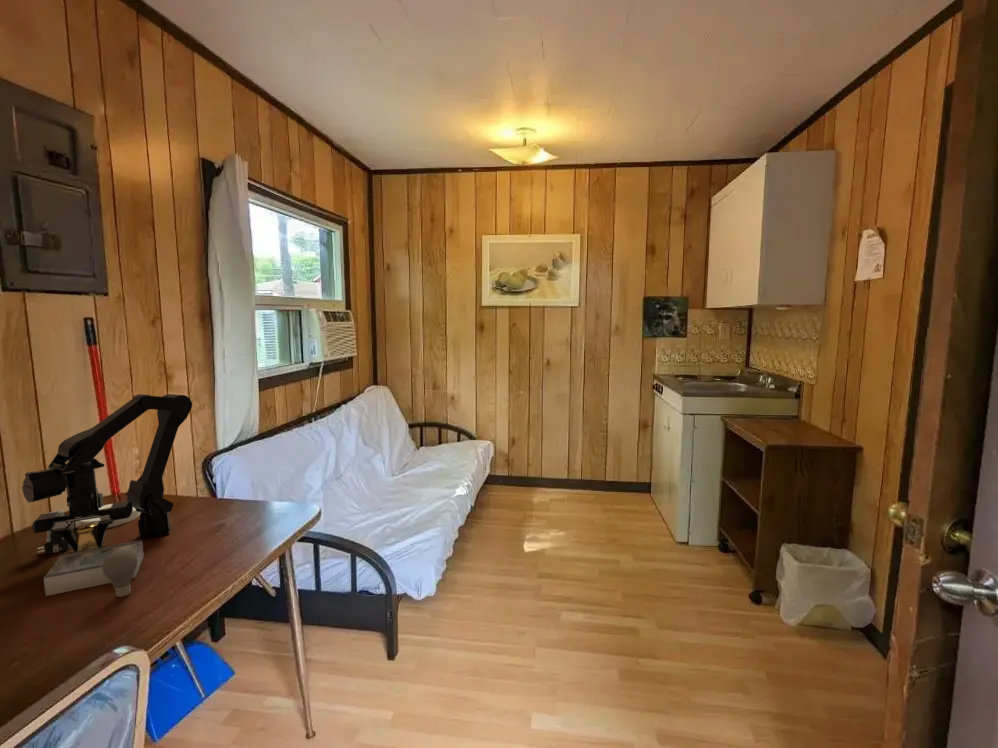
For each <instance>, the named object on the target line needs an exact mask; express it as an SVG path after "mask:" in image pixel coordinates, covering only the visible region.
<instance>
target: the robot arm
mask: <svg viewBox="0 0 998 748" xmlns="http://www.w3.org/2000/svg"><path fill="white" fill-rule="evenodd" d="M192 407H193V402H192V399H190V397H189V396H187V395H184V394H178V393H177V394H175V393H167V394H164V395H162V396H157V395H150V394H142V393H139V394H136V395H134V396H133V397H132V398H131V400H128V402H126V403H124V404H123V405H121V406H120V407H119V408H118V409H116V410H115V411H113V412H112V413H110V415H108V416H106V417H105V418H103V420H101V421H100V422H99V423H98V422H97V424H95V425H94V426H92V427H90V428H88V429H86V430H83V431H80V432H78V433H76V434H74V435H72V436H70V437H68V438H65V439H64V440H63V441H61V443H60V444H59V445H58V446H57V447H58V449H57V453H56V454H55V456H54V458H53V459H52V460H51V462H50V464H49V465H48V466H47V468H46V469H42V470H37V471H29V472H26V473H24V475H25V476H24V477H25V478H24V479H23V483H22V485H21V490H22V493H23V497H24V499H25V500H26V502H27V503H34V502H38V501H42V500H44V499H45V500H46V499H49V498H53V497H58V496H60V495H62V494H63V493H65V492H66V503H67V504H66V505H67V508H68V515H62V516H61V515H60V513H59V512H54V513H49V512H47V513H42V514H40V515H39V516H38V517H37V518H36V519H35V520H34V521H33V522H32V525H31V527H32V533H34V534H37V533H44V532H46V531H51V529H52V528H53V527H54V530H53V533H58V534H59V535H61V536H62V537H63V538H64V539H65V540H66V541H67V542H68V544H69V545H70V548H71V549H72V550H73V552H76V551H77V544H76V536H75V533H74V532H73V528H74V527H75V521H81V520H87V519H94V518H100V519H101V520H100V521H99V523H98V545H99V547H103V544H104V539H105V538H106V537H105V536H106V533H107V529H108V528H107V527H108V525H109V524H112V523H113V522H114V520H119V519H125V518H128V517H130V515H131V513H132V511H133V507H134V508H135V509H136V511H137V512H141V514H140V515H139V517H138V520H137V526H138V534H139V536H140V540H144V539H150V538H156V537H161V536H166V535H169V534H170V532H171V528H172V524H171V523H170V512H172V510H173V507H174V503H173V502H171V501H170V500H167V499H165V498H164V492H165V487H164V481H163V477H164V475H165V471H166V467H167V465H168V461H169V458H170V456H171V455H170V454H171V452H172V449H173V447H174V446H173V445H174V442H175V440H176V439H175V438H176V435H177V432H178V429H179V427H180V426H181V425H182V424H183V423H184V422H185V421H186V420H187V418H188V416H189V414H190V412H191V410H192ZM149 410H156V411H157V412H156V415H157V419H158V420H157V421H158V425H157V429H156V432H155V435H154V438H153V440H152V443H151V447H150V450H149V453H148V456H147V459H146V461H145V465H144V468H143V471H142V474H141V475H140V476H139V477H138V478H137V480H133V479H131V480H130V482H129V486H128V489H127V491H126V493H125V494H124V495H125V496H127V497H126V501H121V502H113V503H112V504H113V505H112V506H111V508H108V509H102V510H99V508H101V507H102V506H103V505H104V497H103V496H104V495H103V493H100V492H99V490H98V487H97V480H96V472H95V471H96V470H95V469H100V468H104V467H105V463H102V462H101V461H99V460H98V459H97V458H95V457H96V456H97V455H98V454H99V453H100V452H101V451H102V450H103V449H104V447H105V445H106V444H107V442H108V441H110V439H111V438H113V437H114V436H116V434H118V433H119V432H121V431H122V430H123V429H124V428H126V427H127V426H128V425H129V424H131V423H132V422H134V421H135V420H136V419H138V418H139V417H140V416H142V415H143V414H144V413H145V412H147V411H149ZM94 514H95V515H94ZM89 515H90V516H89ZM76 517H77V518H76Z"/></svg>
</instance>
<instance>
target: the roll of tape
mask: <svg viewBox="0 0 998 748" xmlns="http://www.w3.org/2000/svg"><path fill="white" fill-rule="evenodd" d="M113 504H114V503H109V504H105V505H104V504H103V506H102V507H101V508H99V510H102V509H108V508H111V506H112V505H113ZM140 514H141V512H137V511H136V509H135V508H134V507H133V511H132V513H131V515H130V517H128V518H125V519H119V520H114V522H113V523H112V524H109V525H108V527H107V529H108V528H112V527H113V528H114V527H117V526H121V525H123V524H126V523H129V522H132V521H134V520H136V519H137V518H139V517H140ZM94 515H95V514H94ZM89 516H90V515H89ZM76 518H77V517H76ZM100 520H101V519H100V518H94V519H87V520H81V521H75V522H74V524H75V527H76V526H79V525H81V524H85V523H91V522H97V523H99V521H100Z"/></svg>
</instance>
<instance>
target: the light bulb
mask: <svg viewBox="0 0 998 748" xmlns="http://www.w3.org/2000/svg"><path fill="white" fill-rule="evenodd" d="M136 566H137V557H136V556H135V554H134V553H132V552H131V551H128V550H118V551H115V552H113V553H111V554H110V555H109V556H108V557H107V558H106V559H105V561H104V563H103V567H102V569H103V572H104V574H105V576H107V578H109V579H110V580H111V581H112V583H111V584H112V586H113V588H114V589H115V590H114V591H115V597H116V598H118V597H119V598H120V597H121V598H123V597H125V596H128V595H129V594H131V592H132V590H131V583H132V579H133V578H132V574H133V572H134V571H135V568H136Z"/></svg>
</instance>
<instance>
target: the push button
mask: <svg viewBox="0 0 998 748" xmlns="http://www.w3.org/2000/svg"><path fill="white" fill-rule="evenodd" d="M54 512H59V513H60V515H61V516H62V515H69V513H67V512H64V511H63V510H54V511H49V512H48V513H54ZM53 530H54V527H53V528H52V529H51V530H50V531H45V532H46V539H45V540H46V541H45V543H44V544H43V546H39V547H37V549H36V550H38V551H37V552H36V553H38V554H39V553H45V554H51V553H58V552H62V551H63V552H66V551H68V550H69V549H70V548H71V546H70V545H69V544H68V542H67V541H66V540H65V539H64V538H63V537H62V536H61V535H59V534H58V533H53ZM40 549H41V550H40ZM42 549H43V550H42Z"/></svg>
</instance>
